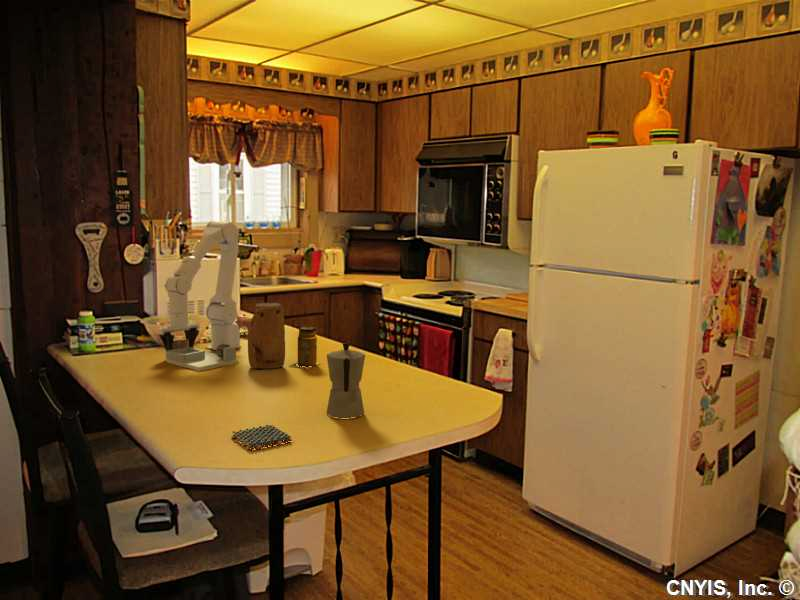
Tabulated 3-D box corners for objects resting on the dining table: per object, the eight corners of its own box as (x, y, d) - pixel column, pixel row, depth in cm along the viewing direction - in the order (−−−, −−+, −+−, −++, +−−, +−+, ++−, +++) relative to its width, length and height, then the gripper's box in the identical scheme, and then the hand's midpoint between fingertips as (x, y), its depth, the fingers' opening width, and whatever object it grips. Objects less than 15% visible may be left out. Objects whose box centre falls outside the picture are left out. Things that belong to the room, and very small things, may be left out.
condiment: (321, 363, 220) (322, 327, 218) (308, 369, 212) (308, 331, 210) (302, 361, 223) (302, 325, 221) (288, 366, 215) (288, 329, 213)
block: (279, 363, 219) (279, 301, 217) (286, 368, 213) (286, 304, 210) (246, 366, 215) (245, 303, 212) (252, 371, 208) (251, 306, 205)
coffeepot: (326, 406, 175) (326, 337, 172) (363, 406, 175) (364, 337, 173) (325, 425, 159) (326, 350, 157) (366, 425, 160) (367, 350, 158)
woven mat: (249, 454, 142) (249, 445, 141) (229, 440, 150) (229, 431, 150) (294, 445, 148) (294, 436, 148) (272, 431, 156) (272, 422, 156)
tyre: (227, 356, 220) (227, 343, 220) (231, 357, 219) (231, 343, 219) (216, 358, 217) (216, 345, 216) (220, 359, 216) (220, 346, 215)
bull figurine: (241, 331, 270) (241, 311, 269) (258, 337, 260) (258, 316, 259) (231, 332, 267) (231, 312, 266) (247, 338, 257) (247, 317, 256)
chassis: (205, 354, 229) (205, 338, 228) (238, 362, 219) (238, 346, 218) (166, 362, 217) (165, 345, 216) (199, 371, 207) (198, 353, 206)
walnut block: (180, 355, 227) (180, 337, 226) (189, 357, 224) (188, 339, 224) (170, 357, 224) (169, 339, 223) (178, 359, 221) (178, 341, 220)
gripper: (190, 308, 230) (190, 347, 232) (151, 313, 219) (152, 354, 221) (203, 310, 226) (203, 350, 228) (164, 315, 215) (165, 358, 216)
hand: (179, 353), depth 224 cm, fingers open, 7 cm apart
